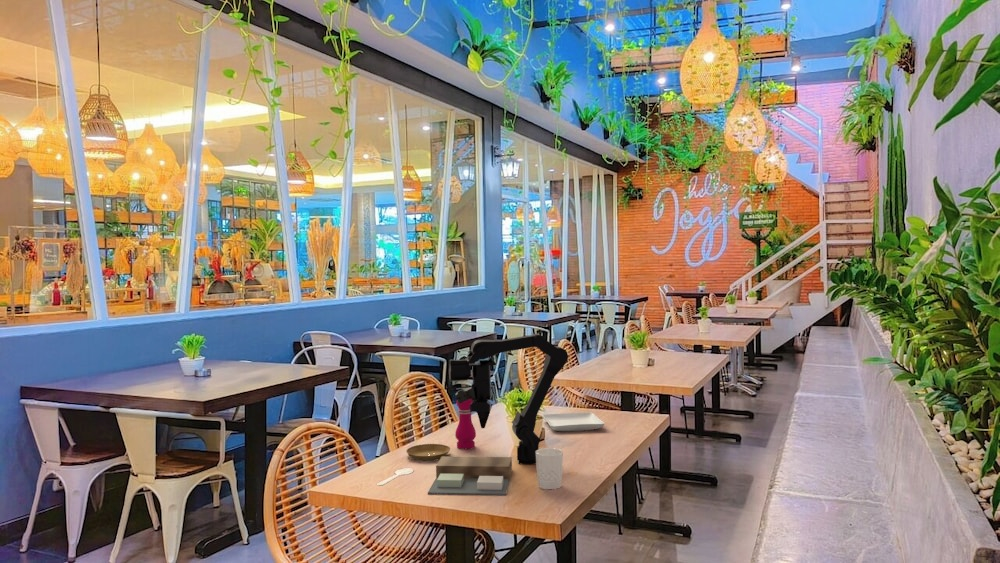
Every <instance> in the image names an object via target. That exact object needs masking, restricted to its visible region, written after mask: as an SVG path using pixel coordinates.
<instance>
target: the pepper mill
mask: <svg viewBox="0 0 1000 563" xmlns="http://www.w3.org/2000/svg"><path fill="white" fill-rule="evenodd" d="M472 402H473V401H472V400H471V399H469V400H466V401H464V402H462V403H460V404H458V401H457V400H456V406H457V407H458V409H457V410H458V412H457V413H458V414H459V420H458V421H459V422H458V424H457V427H456V430H455V435H454V436H455V438H456V440H457V442H456V448H457V449H460V450H471V448H472V449H474V448H475V446H476V445H475V438H476V436H477V434H476V433H477V432H476V428H475V426H474V423H473V421H472V413H473V412H471V411H470V404H471V403H472Z"/></svg>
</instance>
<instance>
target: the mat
mask: <svg viewBox="0 0 1000 563" xmlns="http://www.w3.org/2000/svg"><path fill="white" fill-rule="evenodd" d="M437 479H438V478H436V477H435V479H434V480H433V482H432V484H431V486H430V488H429V489H428V492H427V495H448V496H449V495H455V496H456V495H458V496H459V495H460V496H461V495H463V496H467V495H468V496H506V495H507V493H506V492H507V491H508V488H509V484H510V480H509V479H503V487H502V490H486V489H477V481H478V478H464V482H463V484H462V486H461V487H437Z"/></svg>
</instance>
